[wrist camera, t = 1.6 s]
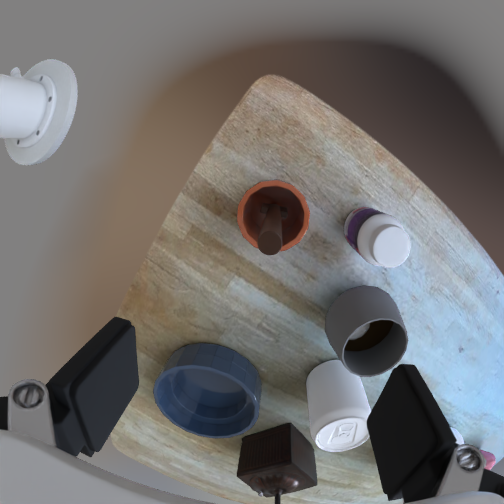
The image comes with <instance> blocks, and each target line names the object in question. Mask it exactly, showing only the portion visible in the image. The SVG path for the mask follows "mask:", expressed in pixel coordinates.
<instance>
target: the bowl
mask: <svg viewBox="0 0 504 504" xmlns="http://www.w3.org/2000/svg"><path fill="white" fill-rule="evenodd" d="M261 386H262V382H261V379H260V377H259V374H258V371H257V370H256V369H255V368H254V366H253V365H252V364H251V363H250V362H249V360H248V359H246V358H245V357H243V356H242V355H240V354H239V353H237V352H236V351H234V350H231V349H229V348H226V347H223V346H220V345H216V344H207V343H198V344H191V345H186V346H184V347H182V348H180V349H178V350H176V351H175V352H174V353H173V354H172V355H171V356H170V358H169V359H168V360H167V362H166V363H165V365H164V367H163V369H162V370H161V372H160V374H159V376H158V377H157V379H156V381H155V385H154V389H153V393H154V398H155V402H156V404H157V406H158V407H159V409H160V410H161V412H162V413H163V415H164V416H166V417H167V418H168V419H169V420H170V421H171V422H172V423H173V424H175V425H176V426H178V427H180V428H182V429H183V430H185V431H187V432H190V433H193V434H196V435H198V436H203V437H209V438H229V437H234V436H237V435H240V434H243V433H244V432H246V431H247V430H249V429H250V428H252V427H253V425H254V424H255V422H256V421H257V419H258V416H259V407H260V397H261Z"/></svg>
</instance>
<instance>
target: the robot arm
mask: <svg viewBox="0 0 504 504" xmlns="http://www.w3.org/2000/svg"><path fill="white" fill-rule="evenodd" d="M56 102H57V89H56V85H55V82H54V81H53V79H52V78H51V77H50V76H47V75H44V74H38V75H35V76H33V77H31V78H30V79H24V77H23V76H21V72H20V70H19V68H17V67H16V68H14V69H12V70H11V72H10V76H8V75H3V74H0V138H11V140H12V142H13V143H14V144H15V145H16V146H17V147H20V148H28V147H31V146H33V145H35V144H36V143H37V142H38V141H40V139H41V138H42V137H43V136H44V134H45V133H46V131H47V130H48V128H49V126H50V123H51V121H52V118H53V116H54V112H55V108H56ZM138 386H139V376H138V365H137V352H136V336H135V327H134V326H132V325H131V322H130V321H129V320H125V319H122V318H119V317H114V318H113V319H112V320H111V321H109V322H108V323H107V324H106V325H105V326H104V327H103V328H102V329H101V330H100V331H99V332H98V333H97V334H96V335H95V336H94V337H93V338H92V339H91V340H90V341H88V342H87V343H86V344H85V346H83V347H82V348H81V349H80V350H79V351H78V352H77V353H76V354H75V355H74V356H73V357H72V358H71V359H70V360H69V361H68V362H67V363H66V364H65V365H64V366H63V367H62V368H61V369H60V370H59V371H58V372H57V373H56V374H55V375H54V376H53V377H52V378H51V379H50V381H49V382H48V383H47V384H46V385H44V384H43V383H41V382H40V381H37V380H34V379H25V380H21V381H19V382H17V383H15V384H14V385H13V386H12V387H11V389H10V391H9V395H8V397H0V504H214V503H208V502H204V501H199V500H195V499H191V498H186V497H182V496H178V495H175V494H171V493H168V492H164V491H160V490H158V489H154V488H151V487H148V486H145V485H142V484H139V483H136V482H133V481H131V480H128V479H126V478H123V477H120V476H118V475H115V474H113V473H110V472H108V471H105V470H103V469H101V468H98V467H96V466H94V465H91V464H89V463H87V462H85V461H83V460H81V459H79V458H77V457H76V456H77V455H78V454H79V452H81V453H83V454H85V455H87V456H89V457H92V455H93V454H94V452H95V451H96V452H99V451H100V450H101V448H102V446H103V445H104V443H105V442H106V440H107V438H108V437H109V435H110V433H111V432H112V430H113V428H114V427H115V425H116V423H117V422H118V420H119V419H120V417H121V415H122V414H123V412H124V410H125V409H126V407H127V406H128V404H129V402H130V401H131V399H132V397H133V396H134V394H135V393H136V391H137V389H138ZM367 429H368V432H369V436H370V440H371V444H372V447H373V451H374V455H375V459H376V463H377V467H378V471H379V475H380V480H381V484H382V488H383V492H384V493H385V494H387V496H388V500H389V501H390V500H396V499H401V498H403V500H404V503H403V504H504V477H503V476H501V475H498V474H496V473H494V472H492V471H490V470H487V469H485V468H484V465H485V459H484V456H483V454H482V453H481V451H480V450H479V449H478V448H476V447H475V446H473V445H469V444H462V445H459V446H458V447H456V448H455V446H454V444H455V442H456V441H457V440H456V438H455V436H454V434H453V432H452V430H451V428H450V426H449V424H448V422H447V420H446V419H445V417H444V415H443V413H442V411H441V409H440V408H439V406H438V404H437V402H436V400H435V399H434V397H433V395H432V393H431V392H430V390H429V388H428V387H427V385H426V383H425V381H424V380H423V378H422V376H421V375H420V373H419V371H418V370H417V368H416V366H415V365H409V364H400V365H399V366H398V367H397V368H394V369H393V371H392V373H391V375H390V377H389V379H388V381H387V383H386V385H385V387H384V389H383V391H382V393H381V395H380V397H379V398H378V400H377V402H376V404H375V406H374V408H373V409H372V411H371V413H370V415H369V416H368V419H367Z"/></svg>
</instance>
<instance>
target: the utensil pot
mask: <svg viewBox="0 0 504 504" xmlns="http://www.w3.org/2000/svg"><path fill="white" fill-rule="evenodd" d="M263 203H268V204H277V205H279V206H282V207H286V208H287V211H288V214H287V218H283V217H281V224H282V242H283V244H282V248H281V250H280V251H285V250H287V249H289V248H291V247H292V246H294V245H296V244H297V243H299V242H300V240H301V239H302V237H303V236H304V234H305V233H306V231H307V230H308V226H309V217H310V211H309V208H308V205H307V202H306V199H305V197H304V196H303V195H302V194H301V193H300V192H299V191H298V190H297V189H296V188H295V187H294V186H293V185H291V184H290V183H287V182H284V181H281V180H278V179H274V180H266V181H262V182H259V183H258V184H256V185H255V186H253V187H252V188H250V189H249V190H247V191H246V193H245V194H244V196H243V198H242V199H241V201H240V203H239V205H238V214H237V223H238V225H239V228H240V230H241V233H242V235H243V237H244V238H245V239H246V240H247V241H248V242H249V243H251V244H252V245H253V246H254V247H255V248H258V244H257V242H258V238H259V235H260V232H261V228H262V225H263V222H264V219H265V216H266V214H265V213H260V210H261V206H262V204H263ZM258 249H259V248H258Z"/></svg>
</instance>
